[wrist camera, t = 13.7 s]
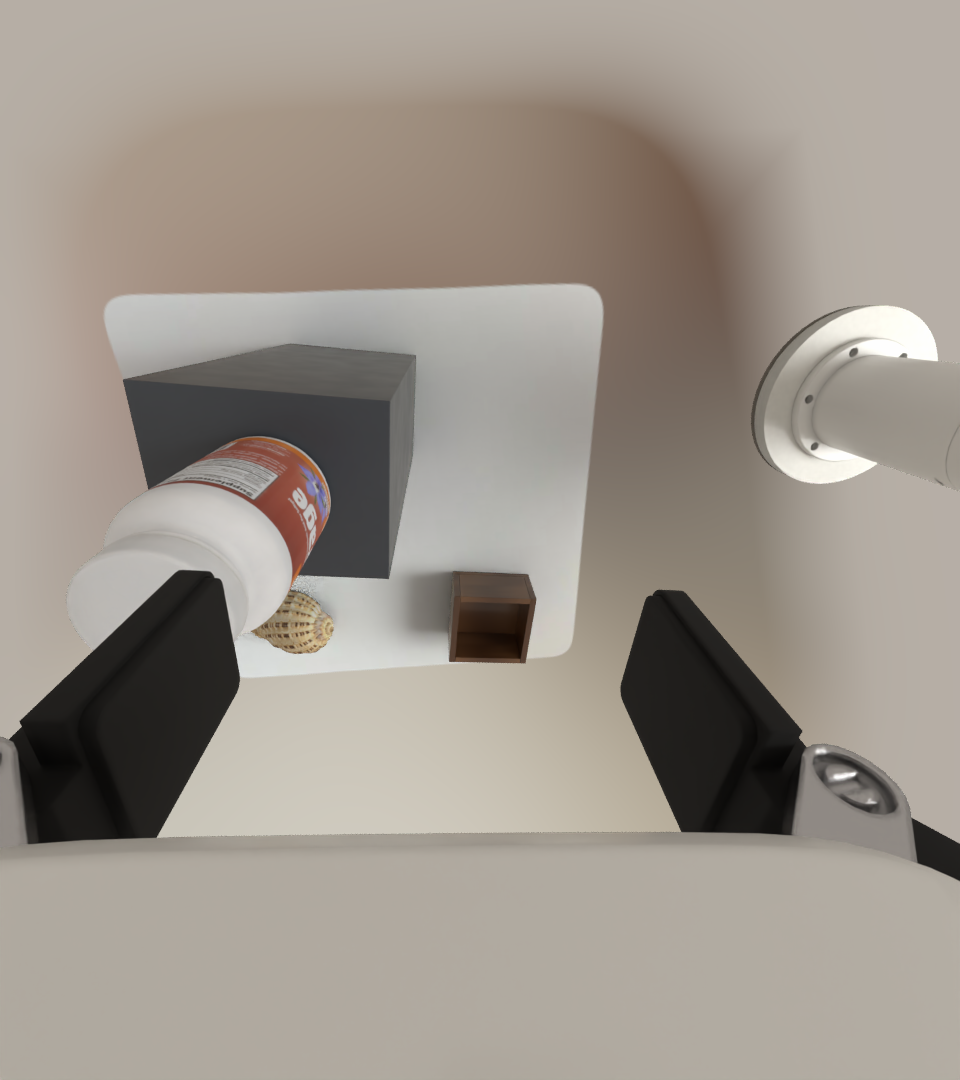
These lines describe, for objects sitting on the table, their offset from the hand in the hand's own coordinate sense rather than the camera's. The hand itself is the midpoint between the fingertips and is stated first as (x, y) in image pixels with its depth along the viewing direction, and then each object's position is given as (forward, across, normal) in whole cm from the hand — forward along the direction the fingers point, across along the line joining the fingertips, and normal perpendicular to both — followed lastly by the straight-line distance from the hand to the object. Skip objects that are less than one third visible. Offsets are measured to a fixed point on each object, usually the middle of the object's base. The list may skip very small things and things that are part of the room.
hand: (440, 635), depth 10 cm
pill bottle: (+15, +9, +3) cm, 17 cm away
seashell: (+41, +17, +29) cm, 53 cm away
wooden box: (+41, -7, +27) cm, 49 cm away
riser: (+41, +9, +3) cm, 42 cm away
